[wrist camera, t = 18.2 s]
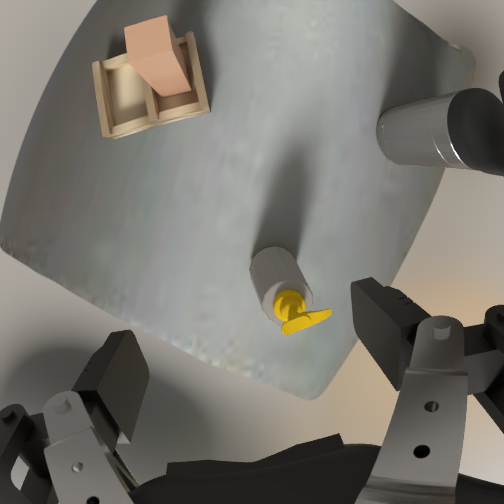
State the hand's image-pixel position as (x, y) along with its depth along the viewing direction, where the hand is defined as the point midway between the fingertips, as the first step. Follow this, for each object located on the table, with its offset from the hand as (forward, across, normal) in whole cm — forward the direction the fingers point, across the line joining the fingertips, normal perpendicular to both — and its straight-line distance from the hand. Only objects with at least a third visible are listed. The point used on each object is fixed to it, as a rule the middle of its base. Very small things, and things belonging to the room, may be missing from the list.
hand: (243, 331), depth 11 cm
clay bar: (+33, +4, -19) cm, 38 cm away
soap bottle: (+34, -4, +10) cm, 36 cm away
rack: (+34, +7, -19) cm, 40 cm away
